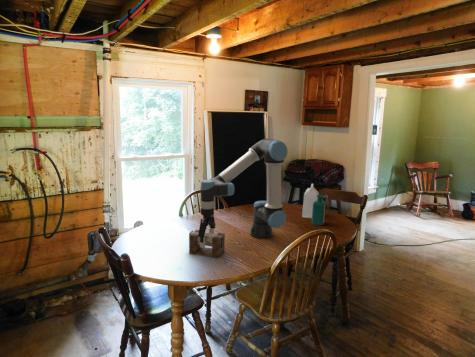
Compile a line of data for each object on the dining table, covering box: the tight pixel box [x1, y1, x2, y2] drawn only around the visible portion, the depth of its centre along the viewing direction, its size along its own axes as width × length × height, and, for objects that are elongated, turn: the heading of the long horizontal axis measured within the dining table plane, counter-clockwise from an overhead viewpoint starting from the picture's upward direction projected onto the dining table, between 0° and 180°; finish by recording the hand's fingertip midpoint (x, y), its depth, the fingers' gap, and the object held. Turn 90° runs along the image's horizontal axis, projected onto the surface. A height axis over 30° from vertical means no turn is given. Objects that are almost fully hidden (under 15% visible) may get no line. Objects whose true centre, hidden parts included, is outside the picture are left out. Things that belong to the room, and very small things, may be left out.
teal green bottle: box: [311, 194, 329, 226], centre depth 247 cm, size 10×8×22 cm
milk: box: [301, 183, 320, 219], centre depth 266 cm, size 12×12×26 cm
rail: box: [188, 230, 226, 248], centre depth 191 cm, size 20×4×6 cm, turn 73°
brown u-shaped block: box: [188, 229, 226, 259], centre depth 192 cm, size 18×10×11 cm, turn 73°
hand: (207, 243), depth 192 cm, fingers open, 13 cm apart
